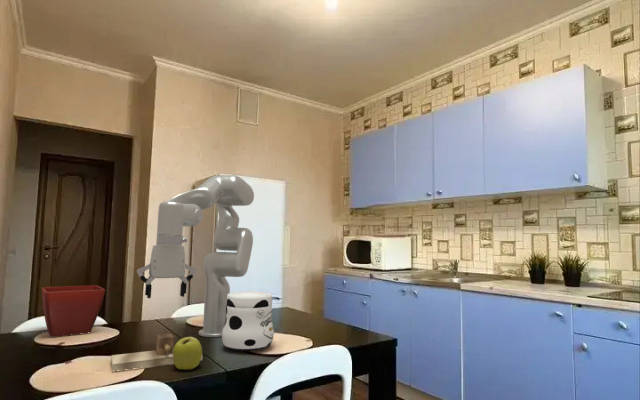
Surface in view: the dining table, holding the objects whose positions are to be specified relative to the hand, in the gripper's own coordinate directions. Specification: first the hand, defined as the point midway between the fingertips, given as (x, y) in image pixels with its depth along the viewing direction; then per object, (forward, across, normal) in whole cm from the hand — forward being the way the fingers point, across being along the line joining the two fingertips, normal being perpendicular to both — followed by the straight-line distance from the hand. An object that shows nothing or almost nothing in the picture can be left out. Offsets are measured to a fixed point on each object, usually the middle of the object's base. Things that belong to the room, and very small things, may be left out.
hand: (165, 296), depth 119 cm
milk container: (+19, -28, -1) cm, 33 cm away
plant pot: (+19, +26, -52) cm, 61 cm away
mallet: (+17, -1, +3) cm, 17 cm away
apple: (+19, -5, +11) cm, 23 cm away
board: (+18, +2, +1) cm, 19 cm away
